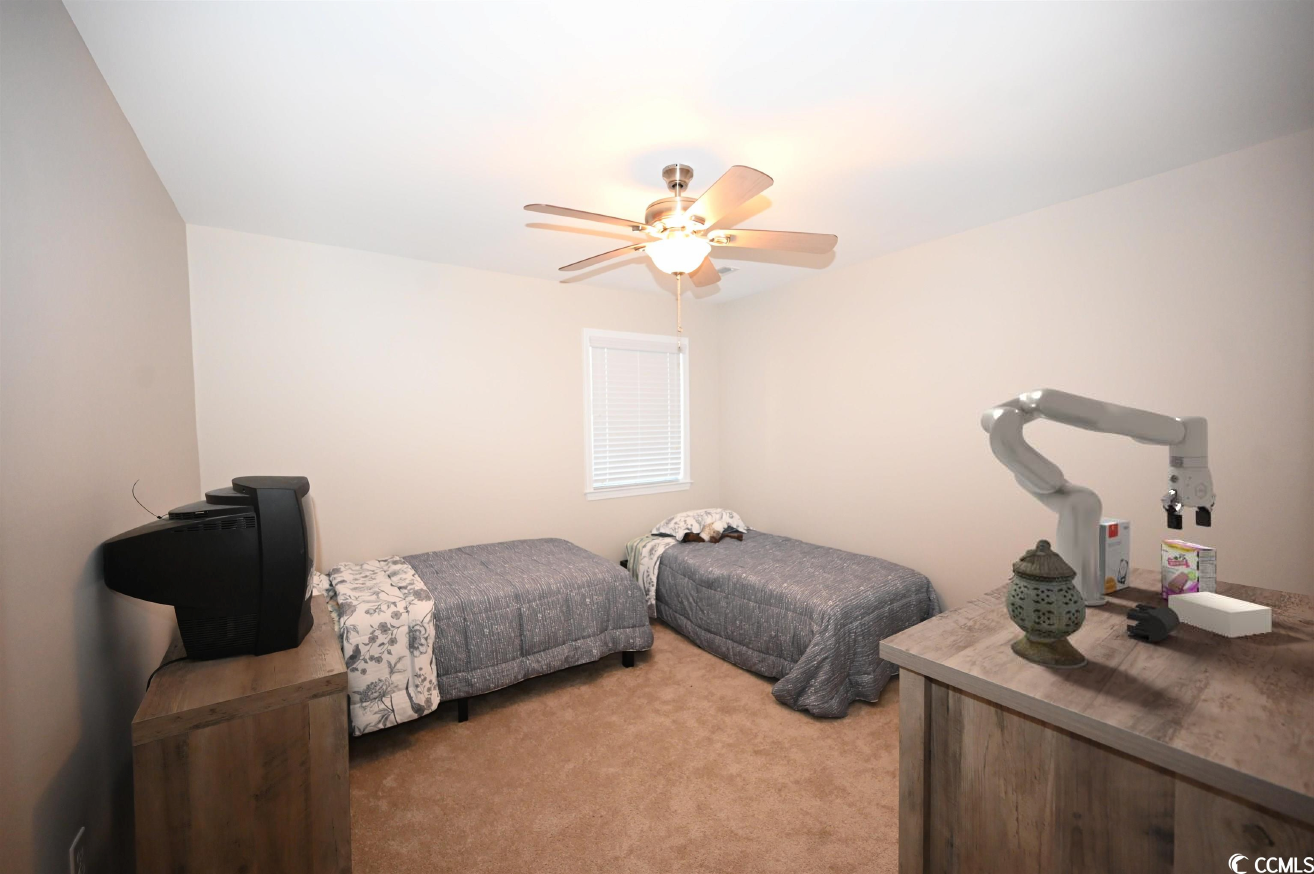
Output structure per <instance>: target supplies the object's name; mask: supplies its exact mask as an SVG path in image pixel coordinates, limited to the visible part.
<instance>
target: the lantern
mask: <svg viewBox="0 0 1314 874" xmlns="http://www.w3.org/2000/svg"><path fill="white" fill-rule="evenodd" d="M1011 565H1012V566H1011V567H1012V573H1013V575H1012V577H1011V578H1008V581H1010V583H1009V585H1008V587H1007V589H1006V591H1005V606H1006V611H1007V612H1008V615H1009V618H1010V620H1011V621H1012V622H1013V623H1014V624H1015V625H1016V626H1017V627H1018V628H1019V629H1021V631H1022V632H1024V633H1025V634H1024V635H1022V636H1021V638H1020V639H1018V640H1016V641H1014V642H1012V643H1011V644H1010V650H1012V651H1013V652H1014V653H1015V654H1016V655H1017V656H1016V655H1015V654H1014V653H1013V652H1012V651H1011V652H1012V653H1013V654H1014V655H1015V656H1016V657H1018V656H1019V657H1018V658H1020V657H1021V658H1023V659H1022V660H1024V659H1025V660H1024V661H1026V660H1027V661H1026V662H1029V663H1032V664H1035V663H1036V664H1035V665H1038V664H1039V665H1038V666H1042V665H1043V667H1047V666H1049V667H1048V668H1053V667H1054V669H1061V670H1064V669H1065V670H1070V669H1080V668H1084V667H1085V666H1086V665H1087V663H1088V661H1087V657H1086V655H1084V654H1083V653H1082V652H1080V651H1079V650H1078V649H1077V648H1076V647H1075V646H1074V645H1073V644H1072V643H1071V642H1070V641H1069V639H1068V637H1070V636H1072V635H1073V634H1075V633H1076V632H1078V631H1079V630H1080V629H1081V628H1082V626H1083V623H1084V621H1085V620H1086V618H1087V617H1086V616H1087V615H1086V613H1087V612H1086V610H1087V607H1086V606H1087V605H1085V603H1084V600H1083V598H1082V596H1081V593H1080V592H1079V591H1078V589H1077V588H1076V587H1075V585H1074V584H1073V583H1072V581H1073V580H1074V578H1075V576H1076V575H1077V573H1076V571H1074V569H1073V568H1072V567H1071V566H1070V565H1068V564H1067V563H1066V562H1065V561H1064V560H1063V559H1062V557H1061V556H1060V555H1059V554H1058V553H1056V551H1054V550H1053V549H1052V544H1051V542H1050V541H1049V540H1047V539H1040V540H1038V541H1037V542H1036V545H1035V548H1034V549H1033V548H1032V549H1030V548H1029V549H1027V550H1026V551H1025V554H1024V555H1022V556H1020V557H1019V558H1018V560H1017V561H1015V562H1013V563H1012V564H1011ZM1021 658H1020V659H1021Z"/></svg>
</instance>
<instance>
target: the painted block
mask: <svg viewBox="0 0 1314 874" xmlns="http://www.w3.org/2000/svg"><path fill="white" fill-rule="evenodd" d="M1167 601H1168V602H1167V603H1168V606H1167V607H1169V608H1171V609H1172V610H1174V611H1175V612H1176V614H1177V615H1178V617H1179V621H1180V622H1179V623H1182V622H1185V623H1184V624H1186V623H1188V624H1187V625H1189V624H1190V626H1192V625H1194V626H1193V627H1195V626H1197V627H1196V628H1198V627H1199V629H1201V628H1203V629H1202V630H1205V629H1206V630H1205V631H1208V630H1209V632H1211V631H1213V632H1212V633H1214V632H1215V633H1214V634H1217V633H1218V635H1221V634H1222V635H1221V636H1224V635H1225V636H1224V637H1227V636H1228V638H1230V637H1231V638H1239V637H1245V635H1247V636H1253V634H1256V635H1261V634H1260V633H1264V634H1267V633H1266V632H1271V633H1272V616H1273V615H1272V611H1273V610H1272V609H1273V608H1272V607H1268V606H1264V605H1261V604H1257V603H1252V602H1250V601H1246V600H1241V599H1237V598H1234V597H1229V596H1226V595H1222V594H1217V593H1216V594H1214V593H1210V592H1198V593H1188V594H1178V595H1169V596H1168V600H1167ZM1238 636H1239V637H1238Z"/></svg>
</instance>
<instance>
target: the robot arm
mask: <svg viewBox="0 0 1314 874" xmlns="http://www.w3.org/2000/svg"><path fill="white" fill-rule="evenodd" d="M980 417H981V418H980V425H981V427H982V430H984V431H985V433H987V434H989V435H988V439H989V440H988V441H989V446H990V449H991V452H992V454H993V456H994V457H995V458H996V459H997V460H998V461H999V462H1000V463H1001V464H1002V465H1003V466H1005V467H1006V468H1007V469H1008V470H1009V471H1010V472H1011V473H1013V477H1014V479H1015V481H1016V483H1017V484H1018V485H1019V486H1020V487H1021V488H1022V489H1024V490H1025V491H1026V492H1027V493H1029V495H1031V496H1032V497H1033V498H1035V499H1036V500H1037V501H1038V502H1039V503H1041V504H1042V505H1043V506H1045V508H1048V509H1049V510H1050V511H1052V512H1054V513H1056V514H1057V515H1058V519H1057V523H1056V524H1057V525H1056V532H1055V533H1056V534H1055V535H1056V536H1055V542H1056V543H1055V544H1056V551H1055V552H1056V553H1058V554H1059V555H1060V556H1061V557H1062V559H1063V560H1064V561H1065V562H1066V563H1067V564H1068V565H1070V566H1071V567H1072V568H1073V569H1074V571H1076V573H1077V575H1076V576H1075V578H1074V580H1073V581H1072V583H1073V584H1074V585H1075V587H1076V588H1077V589H1078V591H1079V592H1080V593H1081V596H1082V598H1083V600H1084V603H1085V605H1086V606H1103V605H1105V604H1107V597H1106V596H1105V595H1104V594H1100V593H1099V527H1100V520H1101V517H1102V514H1103V504H1102V503H1103V502H1102V500H1101V498H1100V496H1099V495H1098V494H1097V493H1096V492H1095V491H1093V490H1092V489H1090V488H1088V487H1086V486H1083V485H1078V484H1076V483H1072V482H1071V481H1069V480H1068V479H1066V478H1065V476H1064V473H1063V471H1062V470H1061V468H1060V467H1059V466H1058V465H1057V464H1055V463H1054V462H1052V461H1051V460H1050V459H1048V458H1047V457H1045V456H1044V455H1043V454H1042V453H1040V452H1039V451H1037V450H1036V449H1035V448H1034V447H1032V446H1031V445H1030V444H1029V443H1028V442H1027V440H1026V439H1025V437H1024V435H1023V432H1024V431H1023V429H1024V425H1027V424H1029V423H1031V422H1033V421H1036V420H1038V419H1043V420H1046V421H1047V420H1048V421H1051V422H1054V423H1059V424H1063V425H1066V426H1070V427H1074V428H1077V429H1082V430H1085V431H1089V432H1093V433H1094V432H1095V433H1103V434H1113V435H1119V436H1125V437H1128V438H1129V437H1130V438H1131V440H1133V441H1135V442H1136V443H1139V444H1142V445H1148V446H1149V445H1151V446H1160V447H1168V469H1169V470H1168V475H1167V481H1166V494H1165V495H1163V496H1161V498H1160V502H1161V503H1162V504H1161V505H1162V507H1163V509H1164V510H1165V511H1164V513H1166V516H1167V517H1166V518H1167V519H1166V523H1167V529H1170V530H1171V529H1172V530H1179V531H1181V530H1183V514H1181V513H1182V511H1183V509H1184V508H1185V507H1186V508H1196V510H1195V526H1199V527H1205V528H1211V527H1212V512H1213V511H1214V509H1213V507H1214V505H1215V502H1216V501H1215V500H1216V498H1217V494H1216V493H1215V492H1214V484H1213V477H1212V473H1211V470H1210V468H1209V439H1208V438H1209V435H1208V433H1209V427H1208V424H1209V423H1208V420H1207V419H1206V418H1205V417H1204V416H1197V415H1196V416H1176V417H1172V416H1169V415H1165V414H1160V413H1157V412H1153V411H1148V410H1145V409H1144V410H1143V409H1139V408H1136V407H1131V406H1126V405H1125V406H1124V405H1121V404H1117V403H1113V402H1108V401H1103V400H1098V399H1095V398H1092V397H1091V398H1090V397H1088V396H1087V397H1086V396H1082V395H1078V394H1075V393H1070V392H1066V391H1061V390H1059V389H1054V388H1039V389H1038V388H1037V389H1033V390H1030V391H1027V392H1024V393H1022V394H1021V395H1018V396H1016V397H1015V396H1014V397H1013V398H1011V399H1009V400H1006V401H1003V402H1001V403H999V404H997V405H994V406H991V407H989V408H988V409H987V410H984V412H983V414H982V415H981V416H980Z"/></svg>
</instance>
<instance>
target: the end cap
mask: <svg viewBox="0 0 1314 874" xmlns="http://www.w3.org/2000/svg"><path fill="white" fill-rule="evenodd" d="M1134 607H1135V608H1130V609H1128V610H1127V612H1126V620H1129V621H1134V622H1136V623H1135V625H1132V624H1128V623H1127V624H1126V631H1127V638H1128V637H1130V638H1129V639H1132V640H1136V641H1140V640H1141V642H1144V641H1145V643H1148V644H1149V643H1150V644H1154V643H1158V642H1159V641H1162V640H1163V639H1165V638H1166V637H1167V636H1168V635H1170V634H1171V633H1172V632H1173V631H1174V630H1176V629H1177V628H1178V627H1179V624H1180V622H1179V617H1178V615H1177V614H1176V612H1175V611H1174V610H1172V609H1171V608H1169V607H1168V606H1167V605H1165V604H1161V605H1159V606H1158V607H1157V606H1154V605H1148V604H1143V603H1138V604H1136V605H1135V606H1134Z"/></svg>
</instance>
